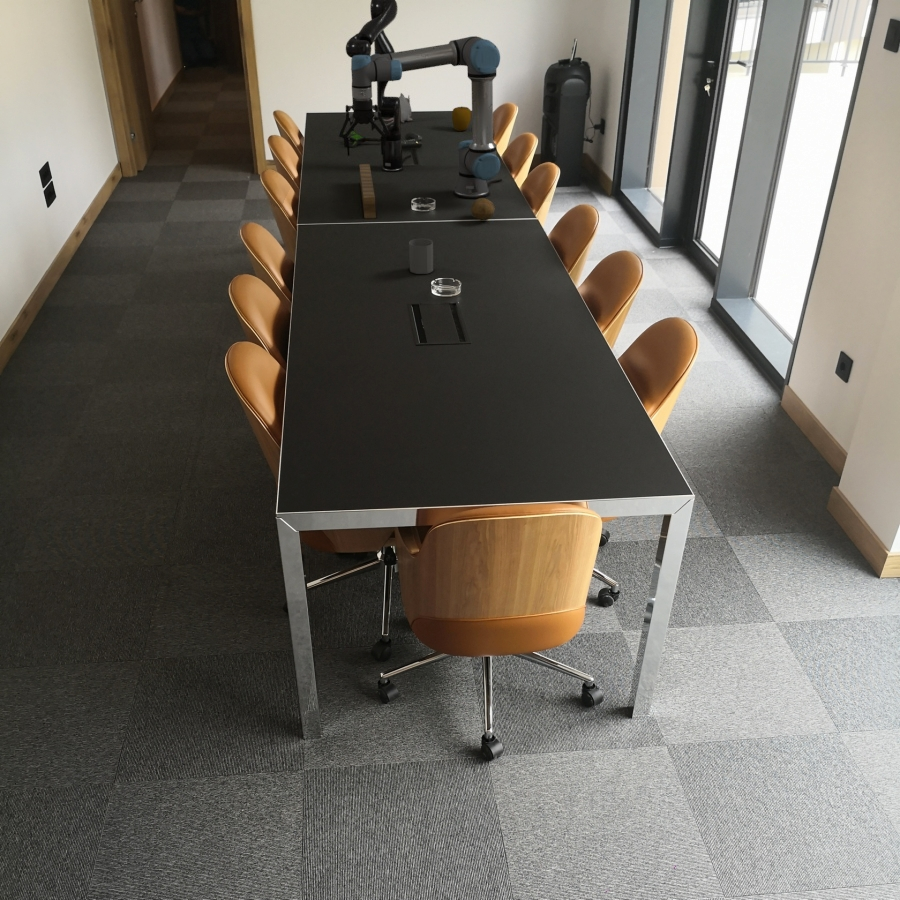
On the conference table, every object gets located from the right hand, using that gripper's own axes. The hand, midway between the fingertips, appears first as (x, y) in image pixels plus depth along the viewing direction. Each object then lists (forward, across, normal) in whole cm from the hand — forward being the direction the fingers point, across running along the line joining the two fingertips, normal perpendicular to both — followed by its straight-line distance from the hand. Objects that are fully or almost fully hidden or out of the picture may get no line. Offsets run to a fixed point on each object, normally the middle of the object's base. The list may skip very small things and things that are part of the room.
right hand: (365, 154), depth 350 cm
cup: (+24, +16, -67) cm, 73 cm away
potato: (+24, +46, -13) cm, 54 cm away
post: (+24, 0, +19) cm, 31 cm away
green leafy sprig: (+24, +4, +119) cm, 121 cm away
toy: (+24, +22, +170) cm, 173 cm away
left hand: (-1, 0, +37) cm, 37 cm away
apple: (+24, +58, +146) cm, 159 cm away
